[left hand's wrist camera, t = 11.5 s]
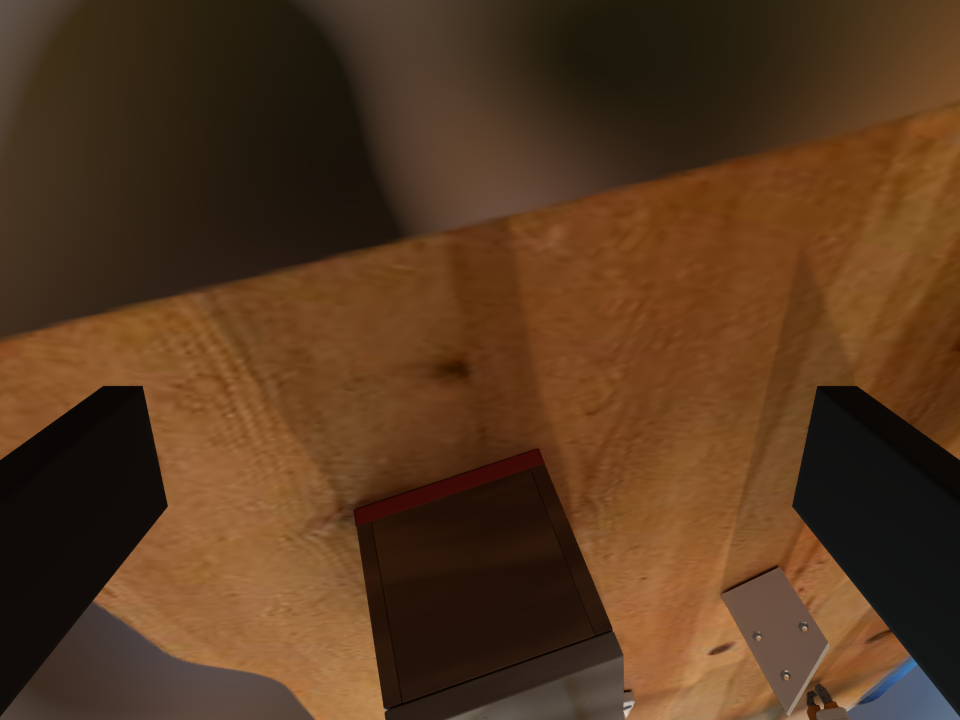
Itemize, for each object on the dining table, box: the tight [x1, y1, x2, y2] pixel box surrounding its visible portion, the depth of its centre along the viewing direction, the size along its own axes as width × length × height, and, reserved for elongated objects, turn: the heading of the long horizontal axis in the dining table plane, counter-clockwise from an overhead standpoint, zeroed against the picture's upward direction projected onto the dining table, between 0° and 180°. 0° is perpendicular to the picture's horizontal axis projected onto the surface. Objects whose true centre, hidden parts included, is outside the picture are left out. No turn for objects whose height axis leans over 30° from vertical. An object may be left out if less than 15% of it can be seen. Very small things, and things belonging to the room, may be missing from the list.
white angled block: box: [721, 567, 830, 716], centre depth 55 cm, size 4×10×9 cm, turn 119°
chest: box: [354, 449, 613, 711], centre depth 35 cm, size 13×10×10 cm
